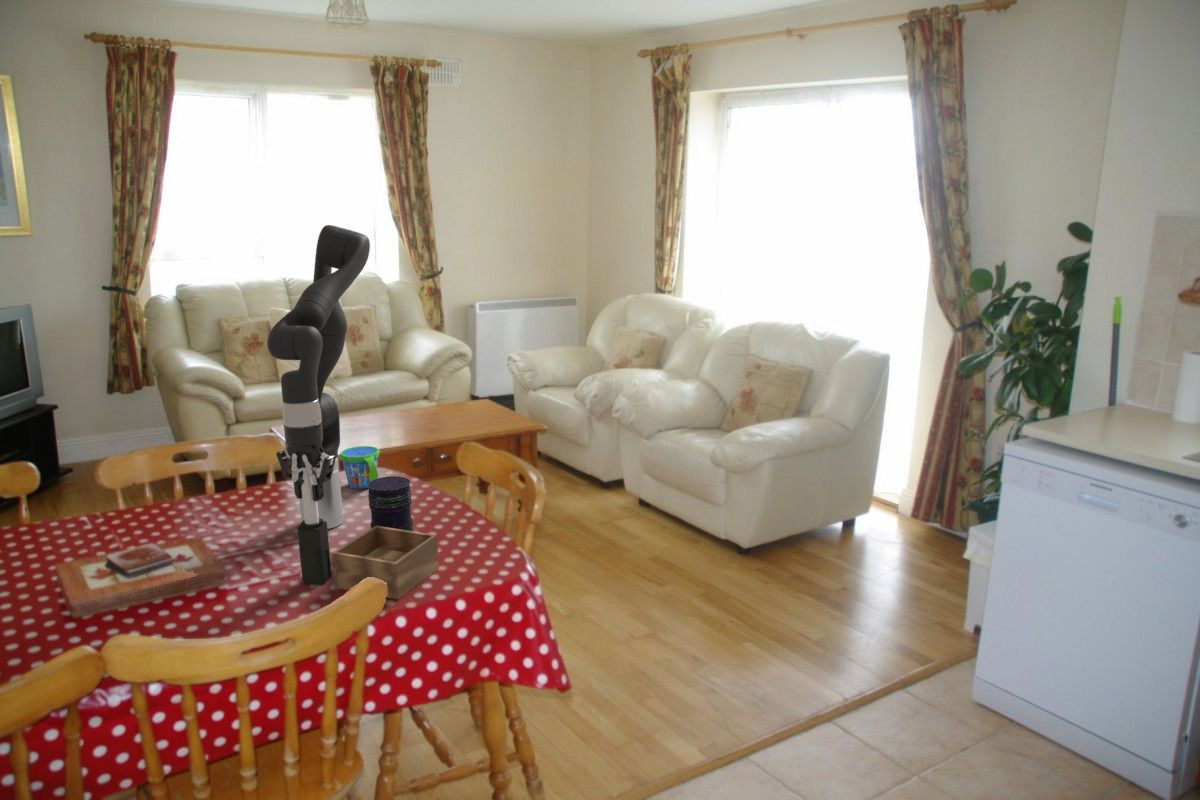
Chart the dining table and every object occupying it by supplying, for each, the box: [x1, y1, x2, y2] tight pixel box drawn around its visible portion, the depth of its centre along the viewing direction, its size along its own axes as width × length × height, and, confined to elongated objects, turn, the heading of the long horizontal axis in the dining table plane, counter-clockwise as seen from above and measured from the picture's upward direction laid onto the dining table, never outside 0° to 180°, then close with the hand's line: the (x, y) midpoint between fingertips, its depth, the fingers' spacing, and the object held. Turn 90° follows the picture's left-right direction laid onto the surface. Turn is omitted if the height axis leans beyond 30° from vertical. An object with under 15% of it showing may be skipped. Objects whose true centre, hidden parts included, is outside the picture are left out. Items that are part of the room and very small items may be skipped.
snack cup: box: [339, 445, 381, 490], centre depth 252 cm, size 16×10×10 cm
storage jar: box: [367, 475, 415, 532], centre depth 213 cm, size 10×10×15 cm
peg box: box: [330, 526, 440, 601], centre depth 195 cm, size 16×16×8 cm
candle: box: [296, 470, 333, 586], centre depth 192 cm, size 5×5×25 cm
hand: (309, 498), depth 191 cm, fingers open, 3 cm apart
